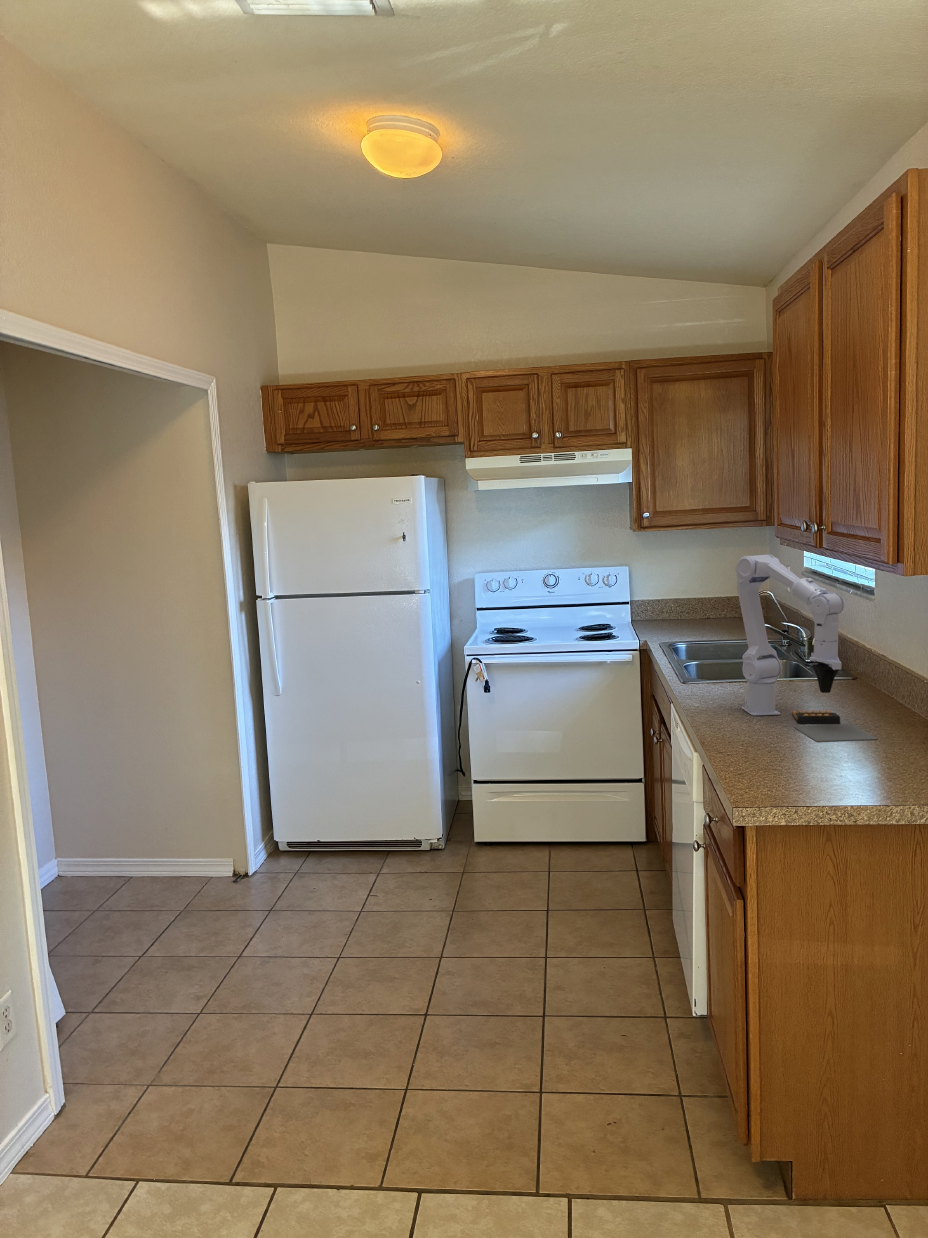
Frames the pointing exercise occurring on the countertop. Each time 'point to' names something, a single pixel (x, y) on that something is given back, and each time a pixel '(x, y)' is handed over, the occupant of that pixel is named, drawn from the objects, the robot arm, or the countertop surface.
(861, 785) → the countertop surface
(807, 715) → the ammunition clip
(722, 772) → the countertop surface
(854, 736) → the mat
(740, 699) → the countertop surface
